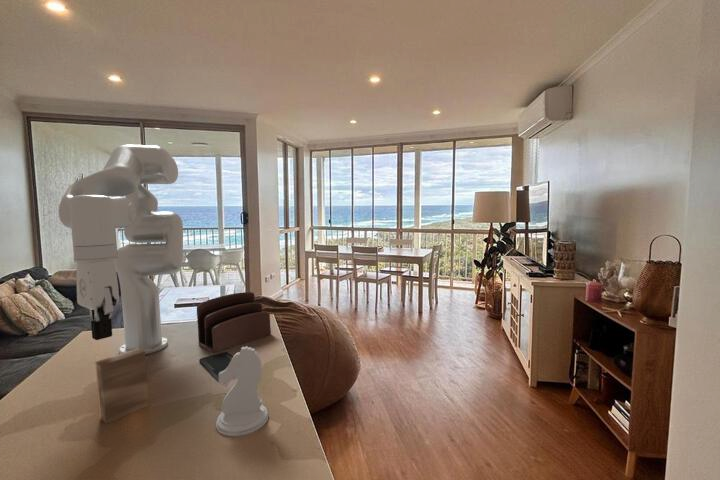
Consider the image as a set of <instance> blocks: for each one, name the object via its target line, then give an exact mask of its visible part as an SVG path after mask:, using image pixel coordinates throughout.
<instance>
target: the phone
mask: <svg viewBox="0 0 720 480" xmlns="http://www.w3.org/2000/svg"><path fill="white" fill-rule="evenodd" d="M233 356H234V355H232V354H231V353H230V352H228V351H222V352H217V353H214V354H211V355H208V356H204V357H201V358H200V359H199V364H200V365H201V366H202V367H203V368H204V369H205V370H206V371H207V372H208V373H209V374H210V375H211V376H212V377H213V378H214V379H215V380H216V381H219V380H218V378H219V375H218V374H219V372H222V371H224V370H225V369H226V368H227V367H228V365H229V363H230V362H231V360H232V358H233Z"/></svg>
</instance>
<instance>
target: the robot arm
mask: <svg viewBox="0 0 720 480" xmlns="http://www.w3.org/2000/svg"><path fill="white" fill-rule="evenodd" d="M178 177H179V168H178V165H177V162H176V161H175V159H174V157H173V156H172V155H171V154H170V152H169V151H167V149H166V148H164V147H162V146H158V145H148V144H147V145H146V144H145V145H143V144H123V145H119V146H116V147H115V148H114V149H113V150H112V152H111V154H110V156H109V158H108V160H107V161H106V164H105V165H104V168H103V169H102V170H99V171H96V172H94V173H92V174H89V175H87V176H85V177H82V178H80V179H78V180H76V181H74V182H73V183H72V184H71V185H70V186H69V187H68V188H67V189H66V191H65V193H64V194H63V196H62V197H61V200H60V201H59V202H60V203H59V205H58V213H57V214H58V217H59V220H60V223H61V224H62V225H64V227H66V228H68V229H71V241H72V242H71V243H72V250H73V251H72V252H73V262H74V263H76V278H75V279H76V282H75V283H76V303H77V305H78V306H81V307H83V308H86V309H88V310H89V317H90V320H91V321H90V325H91V327H90V328H91V338H92V339H93V340H95V341H99V340H103V339H107V338H110V337H112V336H113V327H112V326H113V325H112V314H114V312H115V311H114V306H117V305H118V304H119V303H120V302H119V301H120V298H121V307H122V320H123V330H124V331H123V333H124V344H122V345H121V346H120V347H119V348H118V350H119V354H122V353H125V352H129V351H132V350H135V349H138V348H139V349H141V350H143V351H145V355H148V354H153V353H156V352H159V351H160V350H162V349H164V348H166V347H167V346H168V345H169V340H168V339H167V337H163V336H162V334H163V333H162V332H163V331H162V323H161V321H162V318H161V306H160V293H159V292H160V291H159V289H158V286H157V285H156V283H155V282H154V281H153V280H152V279H151V278H150V277H152V276H164V275H165V276H166V275H173V274H177V273H179V272H180V271H181V270H182V267H183V261H184V260H183V258H184V257H183V256H184V255H183V253H184V251H183V250H184V224H183V220H182V218H181V216H180V215H179V214H178V213H176V212H173V211H158V206H159V205H158V204H159V202H158V198H157V197H156V196H155V195H154V194H153V193H152V192H151V191H150V190H149V189H148V188H146V187H145V186H144V185H169V184H170V185H171V184H175V183H176V181H177V180H178ZM116 229H124V230H123V232H124V233H123V234H124V236H125V238H126V240H127V241H128V242H131V243H133V244H127V245H126V244H125V245H124V246H121V247H119V248H118V243H117V231H116ZM119 289H120V291H119ZM119 293H120V294H119ZM120 295H121V297H120Z"/></svg>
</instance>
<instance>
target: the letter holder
mask: <svg viewBox="0 0 720 480" xmlns="http://www.w3.org/2000/svg"><path fill="white" fill-rule="evenodd" d="M255 295H256V294H255V293H254V292H253V291H252V292H251V291H247V292H245V291H244V292H236V293H230V294H225V295H221V296H218V297H215V298H210V299H207V300H205V301H203V302H202V301H201V302H199V304H198V305H196V316H197V317H196V318H197V319H196V320H197V333H198V334H197V335H198V337H197V338H198V345H199V346H200V347H202V348H204V349H205V350H207V351H209V352H210V353H213V354H216V353H219V352H221V351H224V350H227V349H230V348H234V347H236V346H239V345H242V344H245V343H248V342H251V341H254V340H255V341H256V340H257V339H261V338H263V337H267V336H270V335H271V334H272V331H271V330H272V329H271V315H270V312H268V311H263V304H262V303H261V302H256V299H255V298H256V297H255Z"/></svg>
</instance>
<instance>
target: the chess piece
mask: <svg viewBox="0 0 720 480" xmlns="http://www.w3.org/2000/svg"><path fill="white" fill-rule="evenodd" d="M232 356H233V358H232V360H231V362H230V363H229V365H228V367H227V368H226V369H225V370H224V371H222V372H219V374H218V375H219V378H218V380H217V381H218V384H219V385H222V386H223V387H224V388H225V387H227V386H228V385H229V383H230V382H231V381H235V380H237V381H236V382H235V383H234V385H233V386H232V387H231V388H230V390H229V391H228V392H227V394H226V395H225V396H224V398H223V400H222V403H221V412H220V413H219V415H218V416H217V418H216V422H215V426H216V430H217V431H218V433H220V434H221V435H224V436H227V437H242V436H247V435H249V434H252V433H255V432H256V431H259V430H260V429H261V428H263V426H264V425H265V424H266V423H267V422H268V420H269V412H268V409H267V407H266V406H264V405H263V399H262V398H261V397H260V396H259V391H258V390H259V389H258V388H259V383H260V380H261V377H262V374H263V370H262V369H263V367H262V360H261V357H260V354H259V353H258V351H256V349H255V347H253V348H252V347H251V346H250V347H249V346H248V345H246V346H242V347H241V348H240V351H238V352H236V353H235V354H234V355H232Z"/></svg>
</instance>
